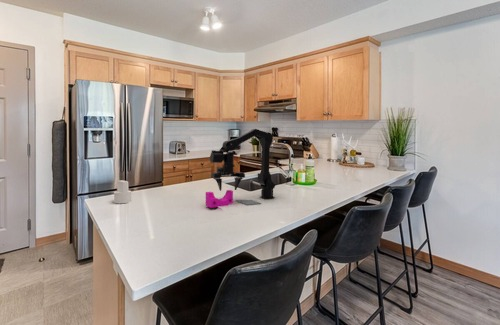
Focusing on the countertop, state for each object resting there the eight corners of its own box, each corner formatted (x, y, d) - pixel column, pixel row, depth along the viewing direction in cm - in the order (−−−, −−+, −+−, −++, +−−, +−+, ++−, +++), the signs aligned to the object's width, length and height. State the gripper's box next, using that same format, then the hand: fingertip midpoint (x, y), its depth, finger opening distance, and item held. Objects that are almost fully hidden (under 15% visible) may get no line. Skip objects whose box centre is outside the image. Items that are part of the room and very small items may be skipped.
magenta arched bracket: (210, 207, 139) (210, 193, 138) (205, 205, 144) (205, 192, 143) (235, 204, 147) (235, 191, 147) (229, 203, 152) (229, 189, 152)
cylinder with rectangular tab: (134, 201, 153) (133, 181, 153) (117, 204, 146) (117, 182, 146) (127, 200, 159) (127, 180, 159) (111, 201, 153) (111, 181, 152)
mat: (246, 199, 165) (246, 198, 165) (261, 204, 149) (261, 202, 149) (233, 200, 160) (233, 199, 160) (246, 205, 144) (246, 204, 144)
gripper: (237, 162, 162) (236, 188, 162) (208, 162, 153) (207, 189, 154) (245, 163, 152) (245, 190, 153) (214, 163, 143) (214, 191, 144)
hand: (228, 190), depth 151 cm, fingers open, 9 cm apart
